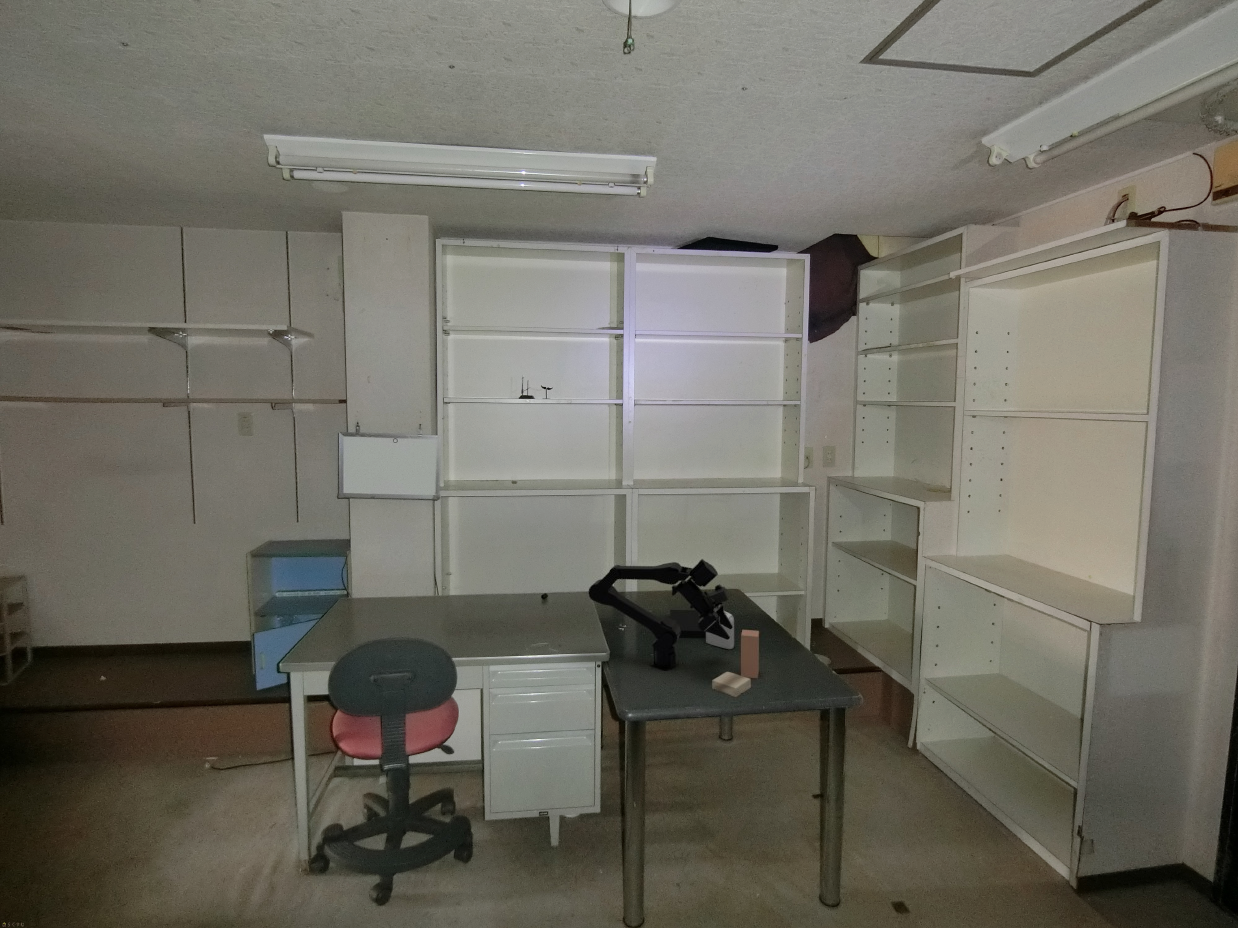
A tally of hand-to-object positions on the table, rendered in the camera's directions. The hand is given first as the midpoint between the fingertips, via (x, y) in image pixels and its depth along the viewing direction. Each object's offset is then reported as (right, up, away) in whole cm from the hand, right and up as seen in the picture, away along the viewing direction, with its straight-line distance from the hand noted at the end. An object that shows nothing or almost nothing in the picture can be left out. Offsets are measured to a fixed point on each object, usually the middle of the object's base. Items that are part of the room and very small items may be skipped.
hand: (730, 633), depth 195 cm
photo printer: (0, -11, +23) cm, 26 cm away
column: (+6, -12, 0) cm, 14 cm away
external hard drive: (-8, -9, +42) cm, 44 cm away
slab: (-1, -14, -10) cm, 17 cm away
